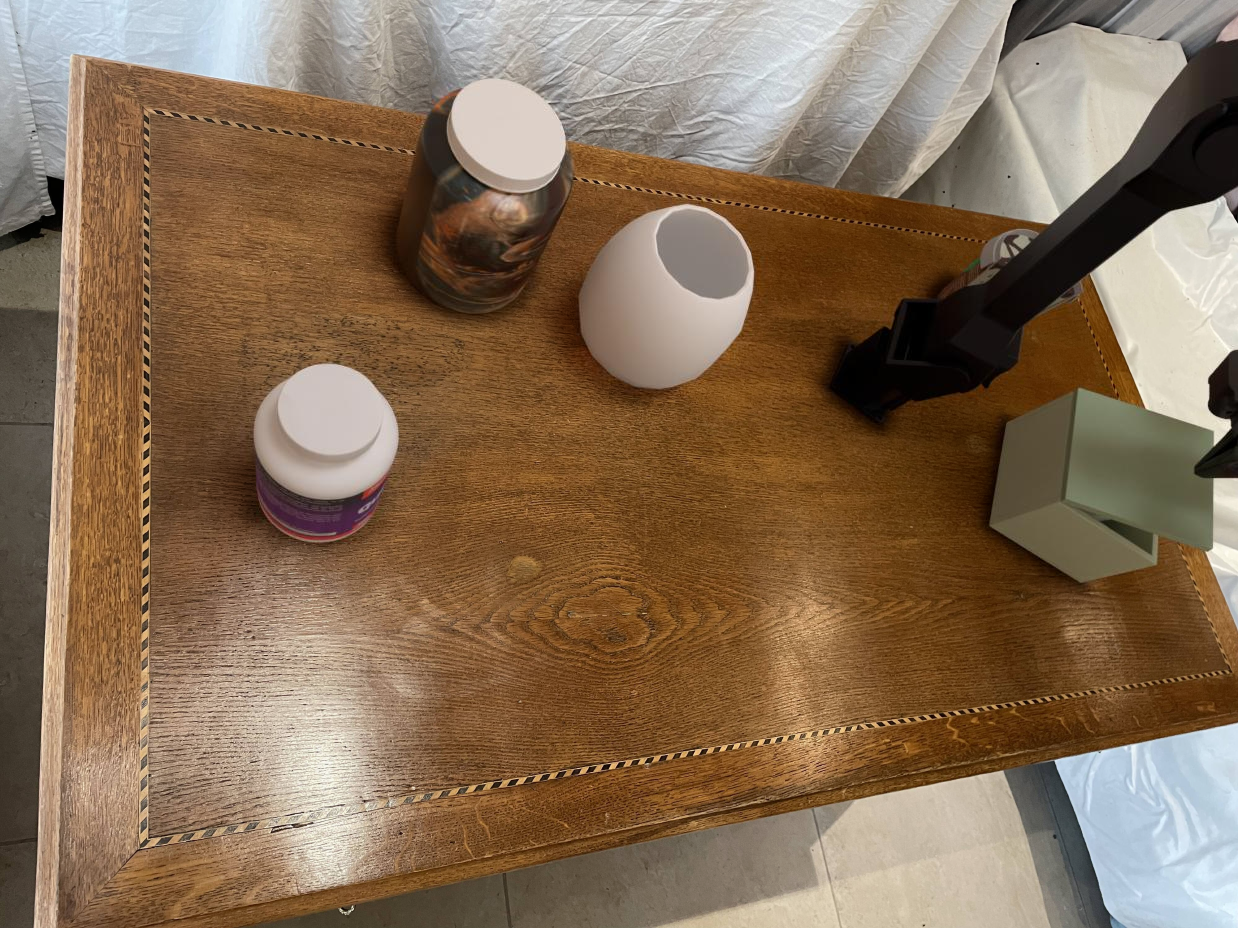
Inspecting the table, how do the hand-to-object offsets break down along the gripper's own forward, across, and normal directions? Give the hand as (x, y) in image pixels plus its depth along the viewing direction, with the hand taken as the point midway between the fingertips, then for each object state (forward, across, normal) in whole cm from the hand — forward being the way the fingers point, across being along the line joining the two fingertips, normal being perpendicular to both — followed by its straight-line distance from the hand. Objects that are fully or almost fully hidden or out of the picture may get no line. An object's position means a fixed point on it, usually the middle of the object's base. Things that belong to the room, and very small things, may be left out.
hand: (1197, 472), depth 72 cm
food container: (+11, -19, -20) cm, 30 cm away
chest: (+13, 0, -6) cm, 14 cm away
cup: (+6, +10, -52) cm, 53 cm away
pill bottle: (+4, +36, -67) cm, 76 cm away
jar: (+3, +12, -68) cm, 69 cm away
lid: (+3, 0, -4) cm, 5 cm away
